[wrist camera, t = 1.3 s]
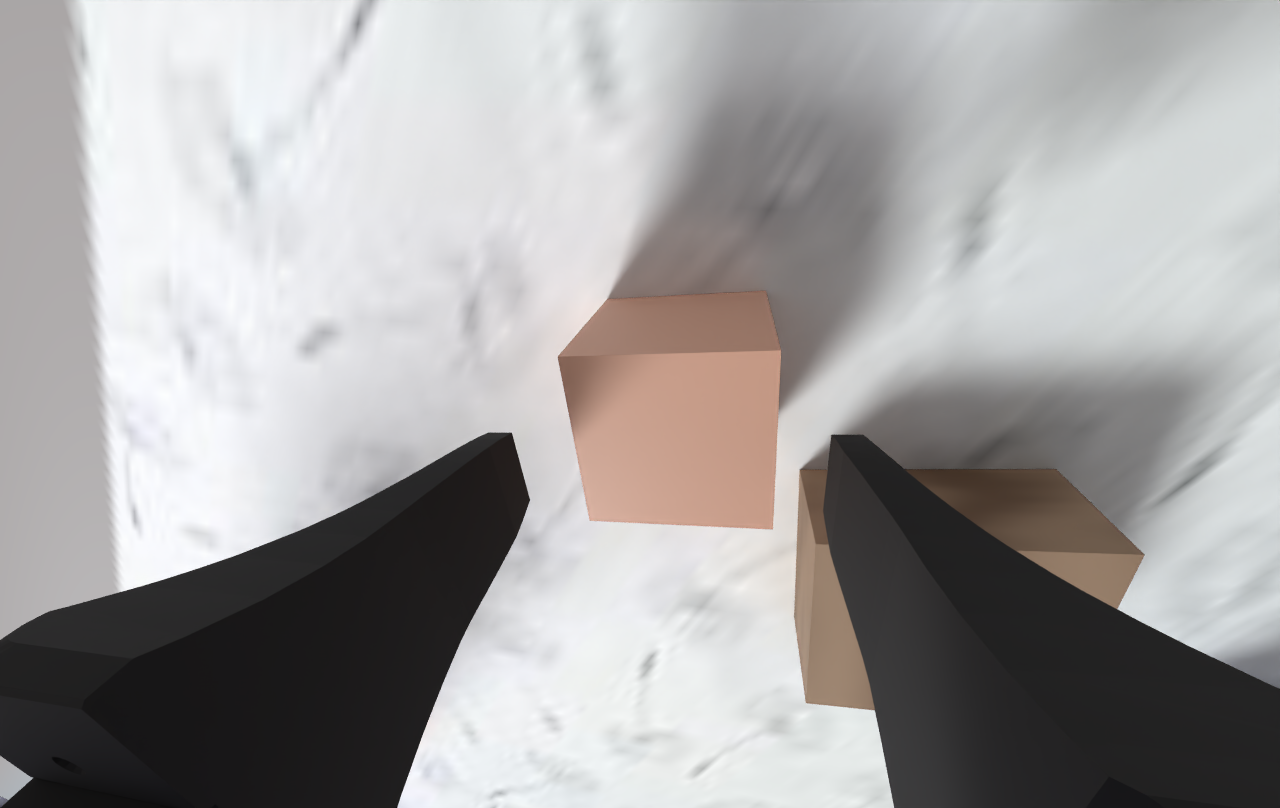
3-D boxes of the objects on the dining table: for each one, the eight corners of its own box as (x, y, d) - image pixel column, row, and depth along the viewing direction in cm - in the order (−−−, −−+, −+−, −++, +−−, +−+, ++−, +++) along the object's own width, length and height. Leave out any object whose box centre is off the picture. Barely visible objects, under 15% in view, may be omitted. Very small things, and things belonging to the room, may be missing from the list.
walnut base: (1050, 464, 15) (1144, 554, 12) (996, 623, 19) (1056, 728, 15) (798, 464, 17) (815, 544, 13) (793, 611, 21) (805, 702, 17)
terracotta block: (765, 289, 14) (781, 350, 10) (761, 429, 16) (773, 529, 12) (607, 298, 15) (557, 356, 11) (625, 429, 17) (589, 520, 13)
